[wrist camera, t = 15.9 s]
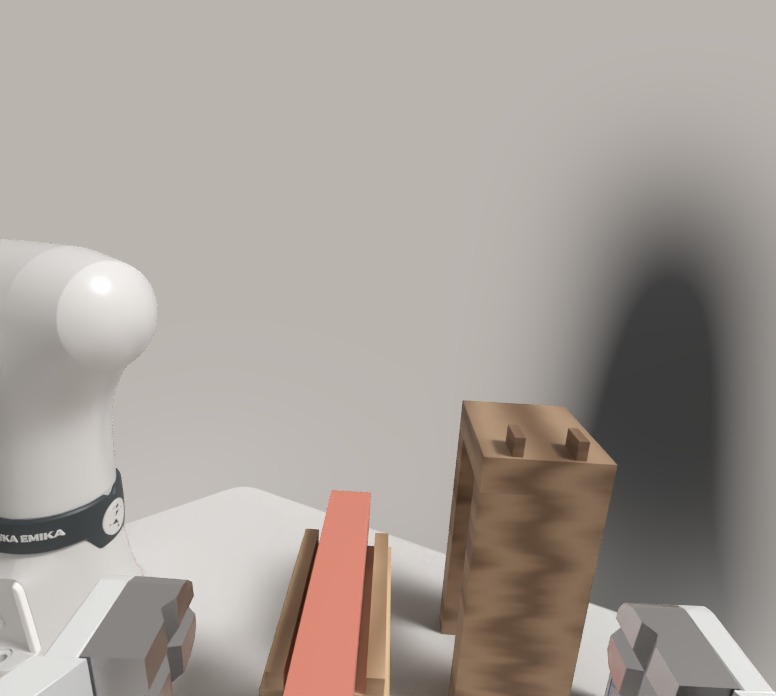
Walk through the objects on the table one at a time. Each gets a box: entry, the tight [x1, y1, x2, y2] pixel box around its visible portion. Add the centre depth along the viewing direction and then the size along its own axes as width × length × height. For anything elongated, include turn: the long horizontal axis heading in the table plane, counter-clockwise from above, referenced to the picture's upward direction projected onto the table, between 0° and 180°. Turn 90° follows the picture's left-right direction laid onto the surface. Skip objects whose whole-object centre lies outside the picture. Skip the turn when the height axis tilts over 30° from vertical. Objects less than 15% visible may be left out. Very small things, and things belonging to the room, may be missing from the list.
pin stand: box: [440, 401, 617, 696], centre depth 44 cm, size 10×12×28 cm
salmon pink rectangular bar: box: [283, 490, 371, 696], centre depth 29 cm, size 20×3×3 cm, turn 179°
